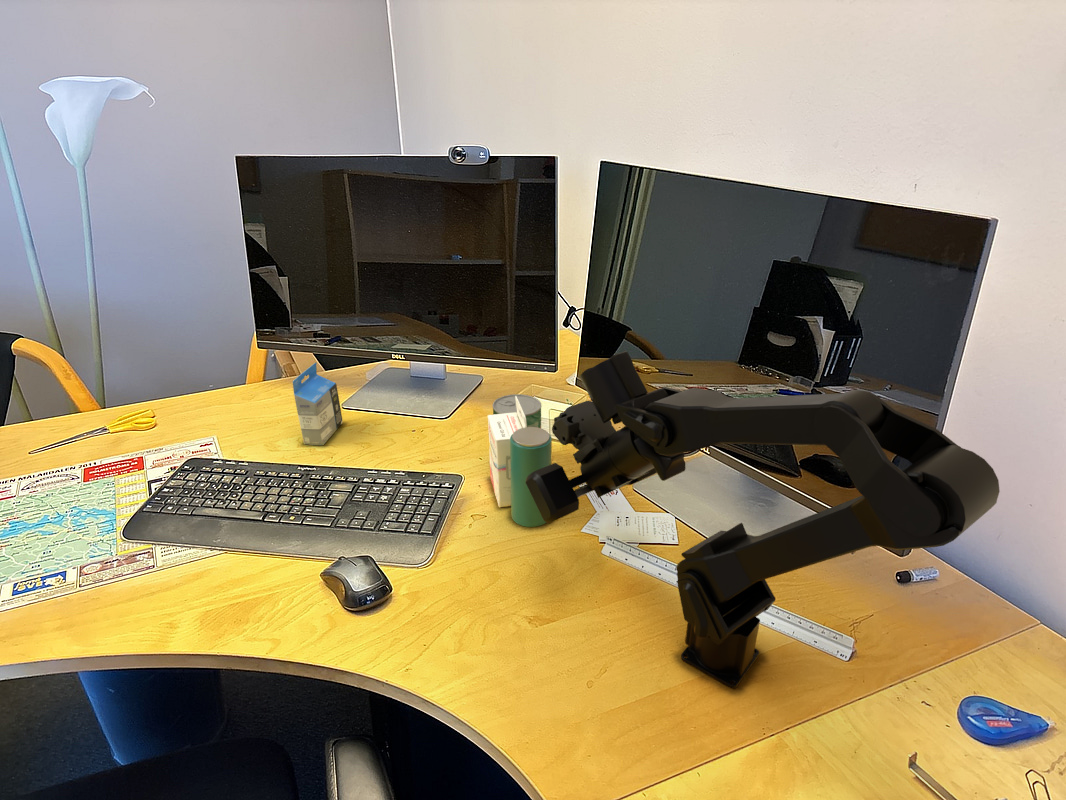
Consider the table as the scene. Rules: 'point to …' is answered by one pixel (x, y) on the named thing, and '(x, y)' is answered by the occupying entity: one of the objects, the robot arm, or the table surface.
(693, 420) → the robot arm
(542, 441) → the can
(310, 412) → the label tape box
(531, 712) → the table surface
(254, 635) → the table surface
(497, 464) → the ink cartridge box
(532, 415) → the canned tomato
